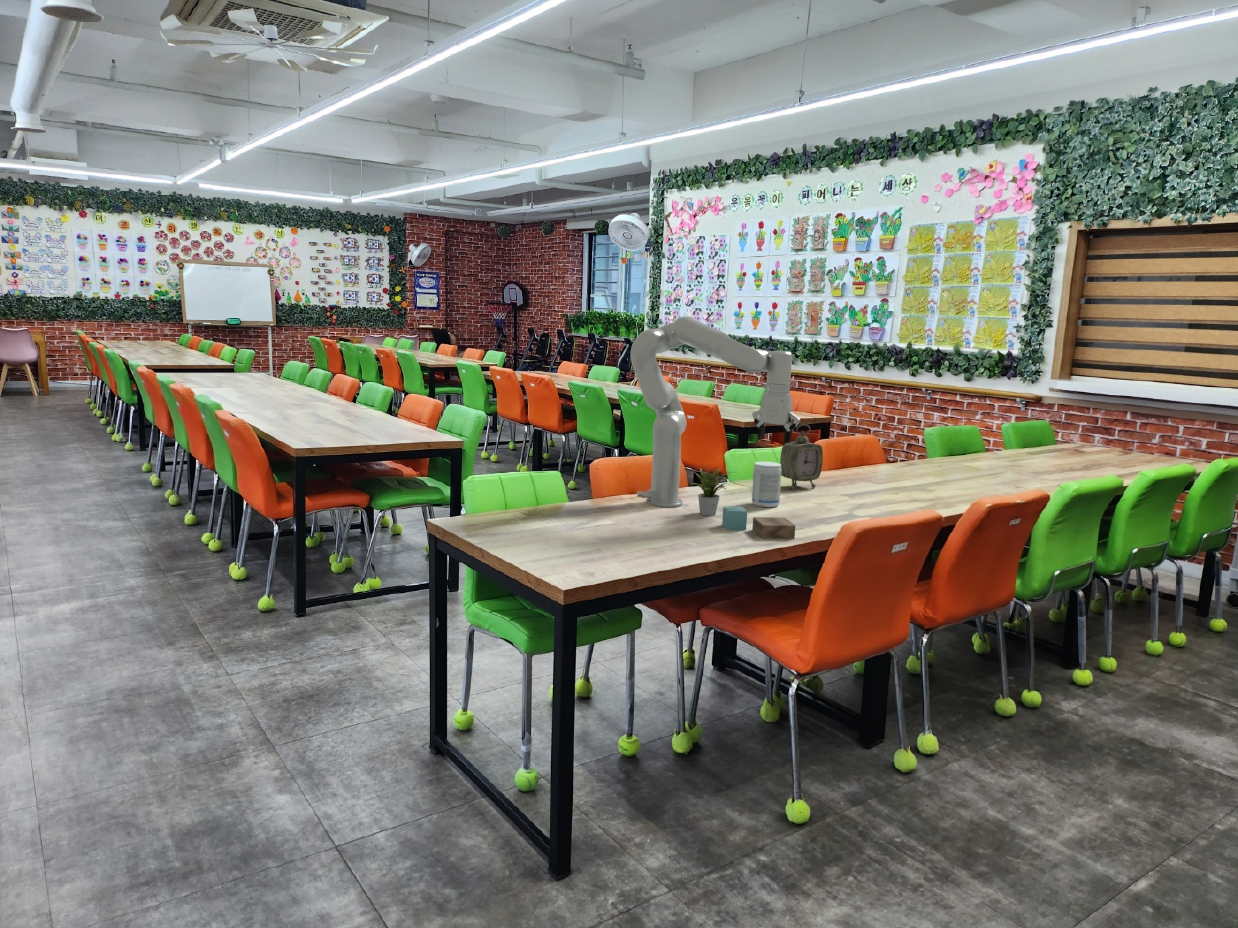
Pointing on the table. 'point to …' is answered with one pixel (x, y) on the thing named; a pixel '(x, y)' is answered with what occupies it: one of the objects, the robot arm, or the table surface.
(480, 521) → the table surface
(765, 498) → the supplement tub
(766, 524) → the walnut base
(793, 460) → the tabletop clock
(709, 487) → the house plant
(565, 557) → the table surface
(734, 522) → the teal cube
